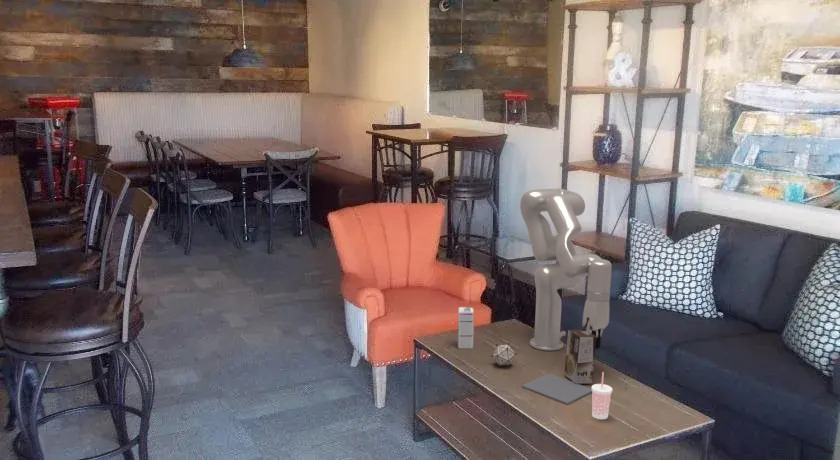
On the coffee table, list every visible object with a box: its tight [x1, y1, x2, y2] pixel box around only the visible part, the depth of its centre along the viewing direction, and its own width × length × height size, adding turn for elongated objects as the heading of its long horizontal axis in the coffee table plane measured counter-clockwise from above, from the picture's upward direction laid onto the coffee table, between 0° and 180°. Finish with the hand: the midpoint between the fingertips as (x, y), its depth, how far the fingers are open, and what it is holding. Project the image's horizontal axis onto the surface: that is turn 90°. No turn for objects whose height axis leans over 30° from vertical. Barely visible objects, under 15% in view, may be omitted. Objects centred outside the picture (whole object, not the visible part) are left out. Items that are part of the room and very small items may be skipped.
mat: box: [521, 373, 592, 406], centre depth 237 cm, size 15×18×1 cm
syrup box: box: [457, 306, 475, 350], centre depth 273 cm, size 6×6×14 cm
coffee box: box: [564, 328, 597, 385], centre depth 244 cm, size 9×6×16 cm
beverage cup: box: [591, 371, 613, 420], centre depth 217 cm, size 6×6×14 cm
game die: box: [490, 342, 518, 368], centre depth 256 cm, size 9×8×10 cm
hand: (594, 347), depth 249 cm, fingers closed
